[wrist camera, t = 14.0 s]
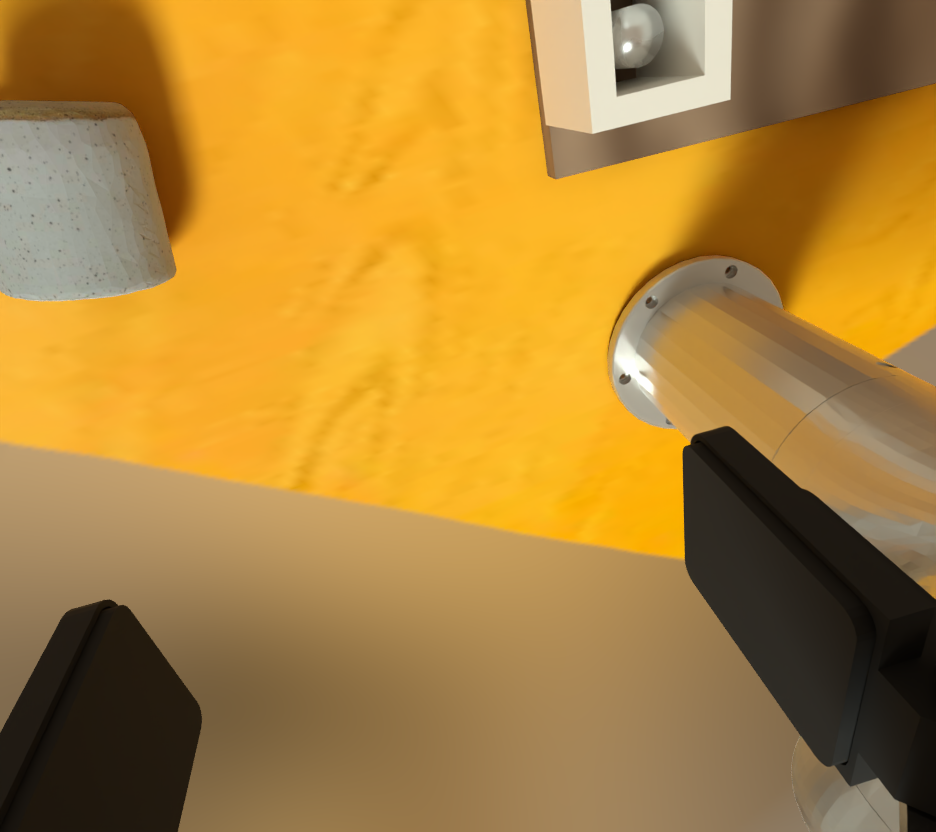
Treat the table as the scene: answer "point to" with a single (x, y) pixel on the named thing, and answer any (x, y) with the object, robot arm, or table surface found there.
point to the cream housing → (656, 84)
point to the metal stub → (636, 35)
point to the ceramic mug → (77, 203)
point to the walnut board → (771, 75)
